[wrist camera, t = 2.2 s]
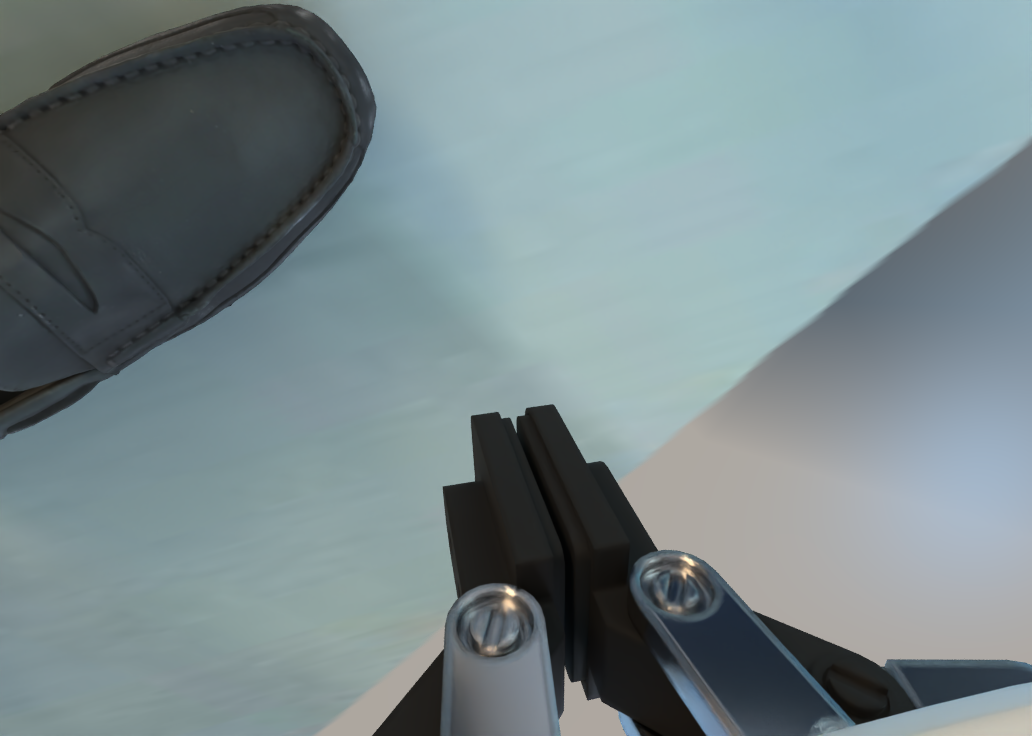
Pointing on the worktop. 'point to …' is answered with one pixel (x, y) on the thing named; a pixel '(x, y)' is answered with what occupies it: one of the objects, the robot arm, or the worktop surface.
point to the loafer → (164, 191)
